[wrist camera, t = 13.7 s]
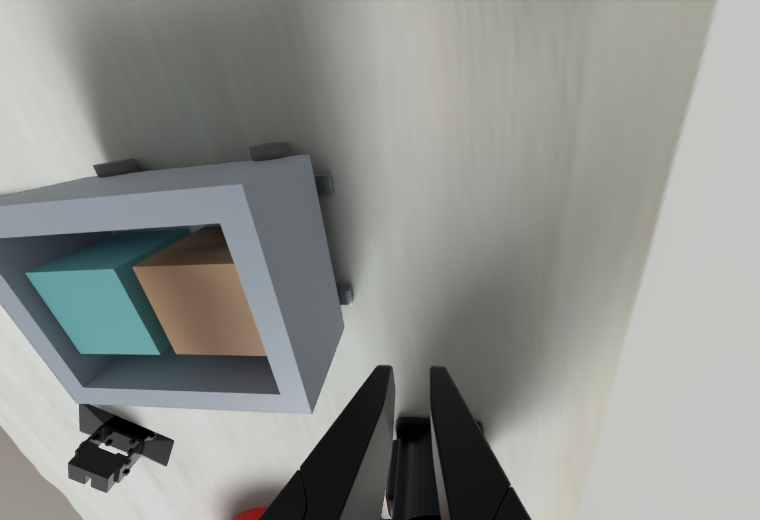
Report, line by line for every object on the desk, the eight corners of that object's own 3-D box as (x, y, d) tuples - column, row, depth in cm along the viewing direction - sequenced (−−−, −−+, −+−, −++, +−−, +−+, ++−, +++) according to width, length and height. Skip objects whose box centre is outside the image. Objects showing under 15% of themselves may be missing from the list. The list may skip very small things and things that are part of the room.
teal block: (189, 228, 17) (113, 268, 13) (218, 300, 19) (160, 354, 15) (117, 233, 17) (25, 272, 13) (152, 301, 19) (80, 353, 15)
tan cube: (284, 222, 16) (235, 263, 12) (303, 298, 18) (266, 356, 14) (203, 226, 16) (132, 267, 12) (230, 299, 18) (175, 354, 14)
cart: (313, 138, 16) (235, 164, 9) (349, 324, 21) (314, 423, 14) (98, 162, 18) (-82, 196, 12) (177, 325, 23) (82, 411, 17)
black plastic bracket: (71, 424, 33) (21, 470, 29) (70, 383, 30) (13, 428, 26) (183, 470, 34) (150, 520, 30) (194, 436, 31) (159, 487, 27)
